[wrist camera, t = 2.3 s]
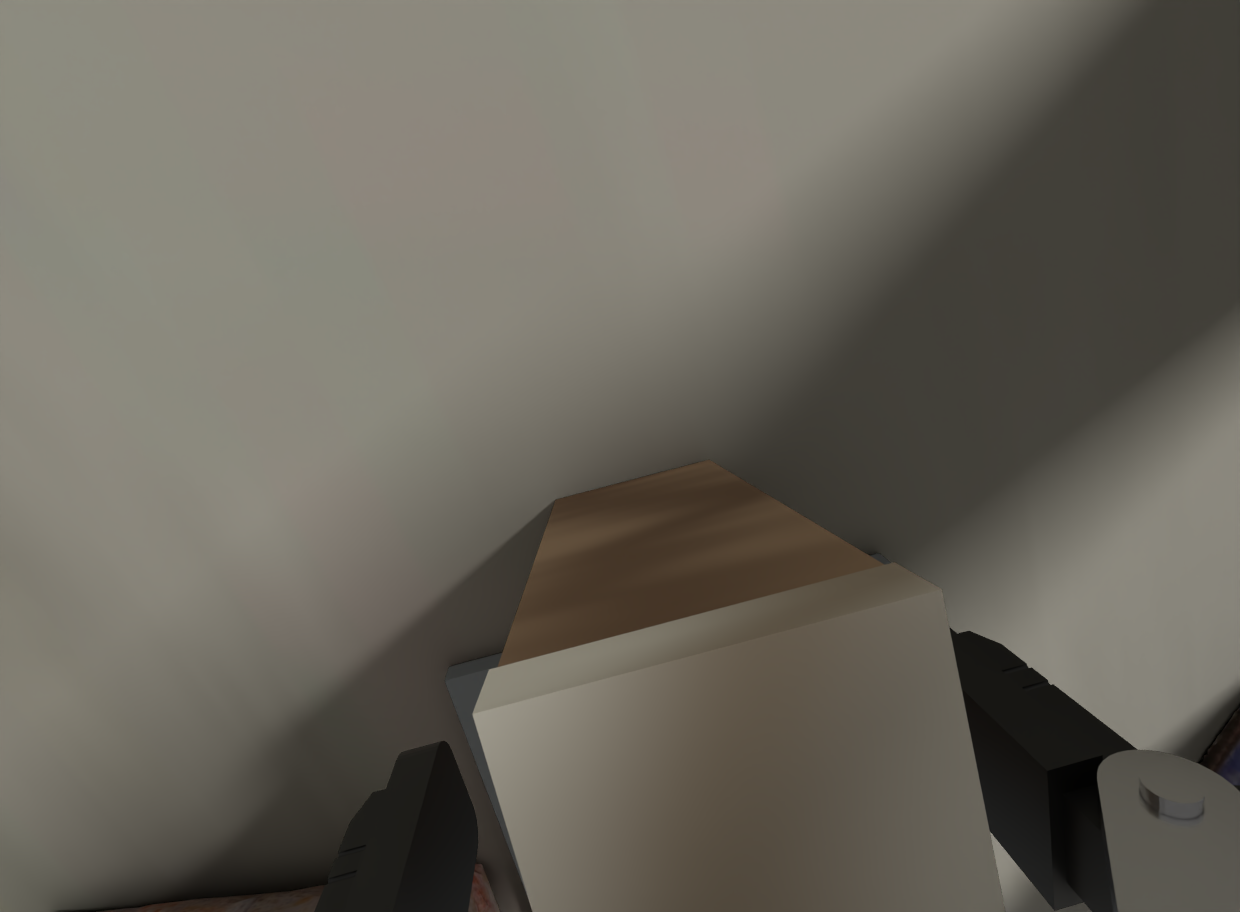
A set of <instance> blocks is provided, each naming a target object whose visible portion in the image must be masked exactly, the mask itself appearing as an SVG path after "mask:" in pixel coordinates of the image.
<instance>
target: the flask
mask: <svg viewBox="0 0 1240 912" xmlns="http://www.w3.org/2000/svg"><path fill="white" fill-rule="evenodd" d="M1207 753H1208V755H1204V759H1203V761H1202V762H1201V763H1198V764H1200V765H1202V766H1204V767H1206V768H1208V769H1210V770H1212V771H1213V772H1215V773H1217V774H1218V775H1220V776H1222V777H1223V778H1224V779H1226V780H1227V781H1228V782H1230V783H1231V784H1232V785H1240V707H1239V709H1238V711H1235V712H1234V714H1233V716H1232V718H1231V719H1230V720H1229V723H1228V724H1226V726H1225V728H1223V730H1222V732H1221V733H1220V734H1219V735H1218V736H1217V739H1216V740H1215V742H1213V745H1212V746H1210V749H1208V752H1207Z"/></svg>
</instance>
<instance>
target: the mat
mask: <svg viewBox="0 0 1240 912" xmlns="http://www.w3.org/2000/svg"><path fill="white" fill-rule="evenodd" d="M870 556H871V557H873V558H874V559H876V560H878V561H879V562H881V563H883V564H884V565H886V564H890V563H891V562H890V561H888V560H887V559H886V558H885V557H883V556H882V555H881V554H880V553H877V554H874V555H870ZM501 655H502V653H499V654H496V655H492V656H488V657H484V658H481V659H477V660H473V661H469V662H465V663H462V664H458V665H454V666H450V667H449V668H448V671H447V675H446V678H445V683H446V686H447V689H448V691H449V694H450V696H451V699H452V702H453V704H454V707H455V709H456V712H457V715H458V717H459V720H460V722H461V725H462V728H463V730H464V733H465V736H466V738H467V741H468V743H469V746H470V749H471V751H472V754H473V756H474V759H475V762H476V764H477V767H478V769H479V772H480V775H481V777H482V780H483V782H484V785H485V788H486V790H487V793H488V795H489V798H490V801H491V803H492V806H493V808H494V811H495V814H496V816H497V819H498V821H499V824H500V827H501V829H502V832H503V834H504V837H505V840H506V842H507V845H508V847H509V850H510V853H511V855H512V858H513V860H514V863H515V866H516V868H517V871H518V873H519V876H520V879H521V881H522V884H523V887H524V889H525V886H524V882H523V879H522V876H521V872H520V869H519V866H518V863H517V859H516V856H515V853H514V849H513V846H512V843H511V840H510V836H509V833H508V830H507V827H506V823H505V820H504V817H503V813H502V810H501V807H500V804H499V800H498V797H497V794H496V790H495V787H494V784H493V781H492V777H491V774H490V771H489V767H488V764H487V761H486V758H485V754H484V751H483V748H482V744H481V741H480V738H479V735H478V731H477V728H476V725H475V721H474V718H473V715H472V713H473V711H474V708H475V705H476V703H477V700H478V697H479V695H480V692H481V689H482V687H483V684H484V681H485V679H486V676H487V673H488V671H489V669H493V668H497V667H498V664H499V661H500V658H501ZM525 892H526V889H525ZM526 894H527V892H526ZM527 897H528V895H527ZM528 900H529V899H528Z"/></svg>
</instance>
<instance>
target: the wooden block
mask: <svg viewBox="0 0 1240 912" xmlns="http://www.w3.org/2000/svg"><path fill="white" fill-rule="evenodd" d="M472 715H473V718H474V721H475V725H476V728H477V731H478V735H479V738H480V741H481V744H482V748H483V751H484V754H485V758H486V761H487V764H488V767H489V771H490V774H491V777H492V781H493V784H494V787H495V790H496V794H497V797H498V800H499V804H500V807H501V810H502V813H503V817H504V820H505V823H506V827H507V830H508V833H509V836H510V840H511V843H512V846H513V849H514V853H515V856H516V859H517V863H518V866H519V869H520V872H521V876H522V879H523V882H524V886H525V889H526V892H527V895H528V899H529V902H530V905H531V909H532V912H1006V911H1005V906H1004V901H1003V896H1002V891H1001V886H1000V881H999V876H998V871H997V866H996V861H995V856H994V851H993V846H992V841H991V835H990V830H989V825H988V820H987V815H986V810H985V805H984V800H983V795H982V790H981V785H980V780H979V775H978V770H977V765H976V760H975V755H974V749H973V744H972V739H971V734H970V729H969V724H968V719H967V714H966V709H965V704H964V699H963V694H962V689H961V684H960V679H959V674H958V669H957V663H956V658H955V653H954V648H953V643H952V638H951V633H950V628H949V623H948V618H947V613H946V608H945V603H944V598H943V593H942V589H941V588H939V587H937V586H935V585H934V584H932V583H930V582H928V581H927V580H925V579H923V578H921V577H920V576H918V575H916V574H914V573H912V572H911V571H909V570H907V569H905V568H904V567H902V566H900V565H898V564H897V563H895V562H893V563H890V564H886V565H884V564H883V563H881V562H879V561H878V560H876V559H874V558H873V557H871V556H869V555H868V554H866V553H864V552H863V551H861V550H859V549H858V548H856V547H854V546H852V545H851V544H849V543H847V542H846V541H844V540H842V539H841V538H839V537H837V536H836V535H834V534H832V533H831V532H829V531H827V530H826V529H824V528H822V527H821V526H819V525H817V524H816V523H814V522H812V521H811V520H809V519H807V518H806V517H804V516H802V515H801V514H799V513H797V512H796V511H794V510H792V509H791V508H789V507H787V506H786V505H784V504H782V503H781V502H779V501H777V500H776V499H774V498H772V497H771V496H769V495H767V494H766V493H764V492H762V491H761V490H759V489H757V488H756V487H754V486H752V485H751V484H749V483H747V482H746V481H744V480H742V479H741V478H739V477H737V476H736V475H734V474H732V473H731V472H729V471H727V470H726V469H724V468H722V467H721V466H719V465H717V464H716V463H714V462H712V461H711V460H706V461H702V462H698V463H694V464H690V465H687V466H683V467H679V468H675V469H671V470H667V471H663V472H660V473H656V474H652V475H648V476H644V477H640V478H637V479H633V480H629V481H625V482H621V483H617V484H614V485H610V486H606V487H602V488H598V489H594V490H591V491H587V492H583V493H579V494H575V495H571V496H568V497H564V498H560V499H556V500H555V503H554V506H553V509H552V512H551V514H550V517H549V520H548V523H547V526H546V529H545V532H544V535H543V537H542V540H541V543H540V546H539V549H538V552H537V555H536V558H535V560H534V563H533V566H532V569H531V572H530V575H529V578H528V581H527V583H526V586H525V589H524V592H523V595H522V598H521V601H520V604H519V606H518V609H517V612H516V615H515V618H514V621H513V624H512V627H511V629H510V632H509V635H508V638H507V641H506V644H505V647H504V650H503V652H502V655H501V658H500V661H499V664H498V667H497V668H493V669H489V671H488V673H487V676H486V679H485V681H484V684H483V687H482V689H481V692H480V695H479V697H478V700H477V703H476V705H475V708H474V711H473V713H472Z"/></svg>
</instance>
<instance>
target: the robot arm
mask: <svg viewBox="0 0 1240 912" xmlns="http://www.w3.org/2000/svg"><path fill="white" fill-rule="evenodd" d="M949 628H950V627H949ZM950 633H951V638H952V643H953V648H954V653H955V658H956V663H957V669H958V674H959V679H960V684H961V689H962V694H963V699H964V704H965V709H966V714H967V719H968V724H969V729H970V734H971V739H972V744H973V749H974V755H975V760H976V765H977V770H978V775H979V780H980V785H981V790H982V795H983V800H984V805H985V810H986V815H987V820H988V825H989V830H990V832H991V833H992V834H993V835H994V837H995V838H996V839H997V840H998V842H999V843H1000V844H1001V845H1002V847H1003V848H1004V849H1005V850H1006V851H1007V853H1008V854H1009V855H1010V856H1011V858H1012V859H1013V860H1014V861H1015V863H1016V864H1017V865H1018V866H1019V867H1020V869H1021V870H1022V871H1023V872H1024V874H1025V875H1026V876H1027V877H1028V879H1029V880H1030V881H1031V882H1032V883H1033V885H1034V886H1035V887H1036V888H1037V890H1038V891H1039V892H1040V893H1041V894H1042V896H1043V897H1044V898H1045V899H1046V901H1047V902H1048V903H1049V904H1050V906H1051V907H1052V908H1053V909H1054V910H1059V909H1062V908H1066V907H1069V906H1072V905H1076V904H1079V903H1083V902H1084V903H1085V904H1086V905H1087V906H1088V907H1089V908H1090V910H1091V911H1092V912H1240V785H1232V784H1231V783H1230V782H1228V781H1227V780H1226V779H1224V778H1223V777H1222V776H1220V775H1218V774H1217V773H1215V772H1213V771H1212V770H1210V769H1208V768H1206V767H1204V766H1202V765H1200V764H1198V763H1196V762H1193V761H1191V760H1188V759H1186V758H1183V757H1179V756H1176V755H1173V754H1169V753H1164V752H1159V751H1152V750H1137V749H1136V748H1135V747H1133V746H1132V745H1131V744H1130V743H1128V742H1127V741H1126V740H1124V739H1123V738H1122V737H1121V736H1119V735H1118V734H1117V733H1115V732H1114V731H1113V730H1112V729H1110V728H1109V727H1108V726H1106V725H1105V724H1104V723H1102V722H1101V721H1100V720H1099V719H1097V718H1096V717H1095V716H1093V715H1092V714H1091V713H1090V712H1088V711H1087V710H1086V709H1084V708H1083V707H1082V706H1081V705H1079V704H1078V703H1077V702H1075V701H1074V700H1073V699H1071V698H1070V697H1069V696H1068V695H1066V694H1065V693H1064V692H1062V691H1061V690H1060V689H1059V688H1057V687H1056V686H1055V685H1050V684H1049V683H1048V680H1047V679H1046V678H1044V677H1043V676H1042V675H1041V674H1039V673H1038V672H1037V671H1035V670H1034V669H1033V668H1028V666H1027V664H1026V663H1025V662H1024V661H1022V660H1021V659H1020V658H1019V657H1017V656H1016V655H1015V654H1013V653H1012V652H1011V651H1010V650H1008V649H1007V648H1006V647H1004V646H1003V645H1002V644H1000V643H997V642H995V641H992V640H990V639H988V638H985V637H983V636H980V635H978V634H975V633H973V632H971V631H966V632H962V633H959V634H957V633H956V632H955V631H953V630H952V629H951V628H950ZM477 849H478V828H477V820H476V815H475V811H474V808H473V805H472V802H471V799H470V797H469V794H468V792H467V789H466V786H465V784H464V781H463V779H462V776H461V773H460V771H459V768H458V766H457V763H456V760H455V758H454V755H453V753H452V750H451V748H450V746H449V744H448V743H447V742H445V741H441V742H437V743H434V744H430V745H426V746H423V747H419V748H415V749H412V750H408V751H404V752H402V753H400V755H399V756H398V758H397V760H396V763H395V766H394V769H393V771H392V774H391V777H390V780H389V783H388V785H387V788H386V789H384V790H381V791H377V792H373V793H372V795H371V796H370V797H369V798H368V800H367V801H366V802H365V804H364V805H363V806H362V807H361V809H360V810H359V811H358V813H357V814H356V815H355V817H354V818H353V819H352V820H351V822H350V824H349V827H348V829H347V832H346V834H345V837H344V839H343V842H342V844H341V847H340V849H339V851H338V854H339V857H338V858H336V859H335V861H334V864H333V866H332V869H331V871H330V874H329V876H328V884H327V885H325V886H324V889H323V891H322V894H321V896H320V899H319V901H318V903H317V906H316V908H315V911H314V912H468V909H469V903H470V896H471V890H472V883H473V876H474V870H475V863H476V856H477Z"/></svg>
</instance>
